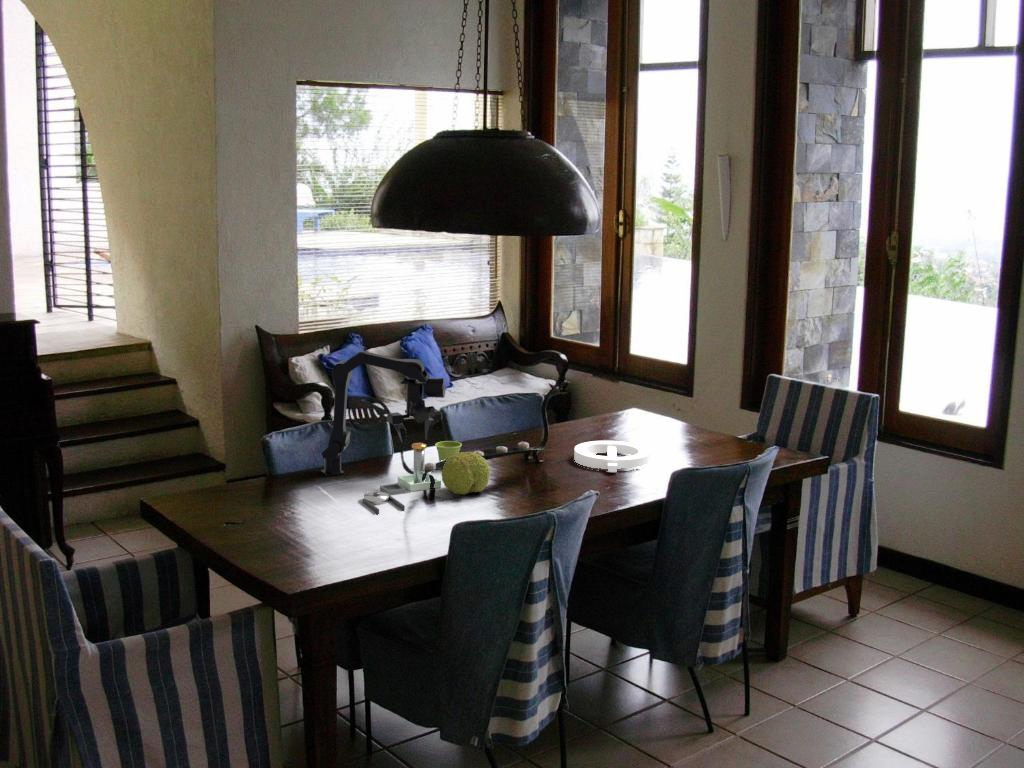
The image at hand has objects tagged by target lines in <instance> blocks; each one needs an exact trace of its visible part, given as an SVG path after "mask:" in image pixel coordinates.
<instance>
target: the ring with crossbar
mask: <svg viewBox="0 0 1024 768" xmlns="http://www.w3.org/2000/svg"><path fill="white" fill-rule="evenodd" d="M606 452H607V455H596V454H597V453H606ZM617 452H618V453H626V454H631V455H632V456H618V455H617ZM573 455H574V456H573V461H574V460H575V461H574V463H575V462H576V463H578V464H580V465H583V466H587V467H591V468H598V469H599V468H601V469H608V471H607V473H618V472H617V469H621V468H632V467H637V466H642V465H644V464H647V463H648V462H649V461H650V462H651V450H650V449H649V448H648V447H646V446H644V445H642V444H638V443H634V442H627V441H622V440H621V441H620V440H592V441H591V440H590V441H586V442H581V443H578V444H577V445H575V446H574V452H573ZM576 463H575V464H576ZM578 464H577V465H578ZM580 465H579V466H580Z"/></svg>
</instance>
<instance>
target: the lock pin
mask: <svg viewBox="0 0 1024 768" xmlns="http://www.w3.org/2000/svg"><path fill="white" fill-rule="evenodd" d="M411 448H412V449H413V474H414V484H416V483H424V481H423V482H422V477H423V470H424V471H425V450H426V449H427V443H424V442H414V443H412V444H411Z"/></svg>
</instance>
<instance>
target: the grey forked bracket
mask: <svg viewBox="0 0 1024 768" xmlns="http://www.w3.org/2000/svg"><path fill="white" fill-rule="evenodd" d="M389 502H391V504H393V505H395V506H396V507H398V508H399V509H400V510H402V511H403V512H405V511H404V510H405V508H406V506H405V505H404V504H403V503H401V501H399V500H397V499H396V498H394V497H393V496H392V495H391V496H390V495H389V494H387V493H384V492H378V491H369V492H367V493H364V495H363V498H362V504H364V505H365V506H366V507H367V508H369V509H370V510H371V511H373V512H374V513H375V515H376V516H379V515H380V509H379V508H378V507H377V506H376V505H378V506H379V505H384V504H387V503H389ZM402 511H401V512H402ZM378 514H379V515H378Z"/></svg>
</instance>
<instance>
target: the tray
mask: <svg viewBox="0 0 1024 768" xmlns="http://www.w3.org/2000/svg"><path fill="white" fill-rule="evenodd" d="M432 476H433V477H434V479H435V484H434V488H435V489H441V488H442V480H440V479H438V478H437V477H435V476H434V475H432ZM430 483H431V482H429V475H427V477H426V480H425V482H424V483H416V484H414V473H412V474H405V475H398V476H397V484H399V485H401V486H402V487H404V488H405V489H406V490H407V491H409V492H410V493H414V492H421V491H429V490H430V489H429V488H430ZM435 489H434V490H435Z"/></svg>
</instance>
